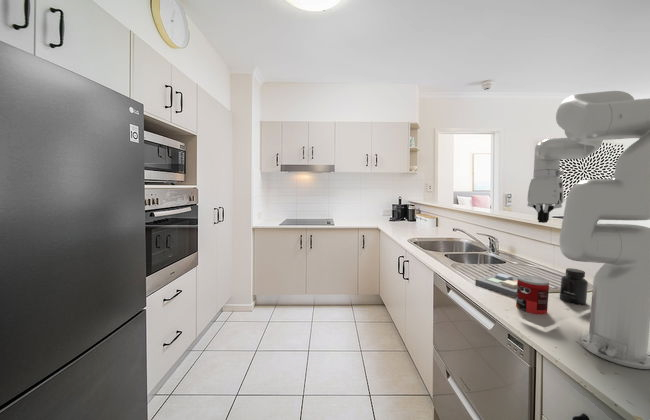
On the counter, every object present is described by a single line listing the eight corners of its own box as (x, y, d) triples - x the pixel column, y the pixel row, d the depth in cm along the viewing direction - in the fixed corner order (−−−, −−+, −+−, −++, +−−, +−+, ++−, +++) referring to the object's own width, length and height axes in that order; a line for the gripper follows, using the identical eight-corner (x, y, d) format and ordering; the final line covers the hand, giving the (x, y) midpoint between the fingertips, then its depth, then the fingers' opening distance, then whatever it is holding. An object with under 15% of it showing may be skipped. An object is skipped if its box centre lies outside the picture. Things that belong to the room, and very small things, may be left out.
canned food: (514, 304, 91) (516, 273, 90) (543, 309, 87) (546, 277, 86) (517, 313, 84) (519, 280, 83) (549, 319, 80) (552, 285, 79)
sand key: (513, 290, 98) (513, 285, 98) (501, 286, 102) (501, 281, 101) (520, 288, 100) (520, 283, 99) (508, 284, 103) (508, 279, 103)
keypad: (514, 300, 94) (515, 292, 94) (475, 286, 108) (475, 279, 108) (540, 292, 102) (540, 284, 102) (500, 280, 115) (500, 273, 115)
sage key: (496, 287, 103) (497, 282, 103) (486, 284, 107) (486, 279, 107) (503, 285, 105) (503, 281, 105) (492, 282, 109) (492, 277, 109)
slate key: (506, 282, 106) (506, 277, 106) (495, 279, 110) (495, 274, 109) (512, 281, 108) (512, 276, 107) (501, 277, 111) (501, 273, 111)
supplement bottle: (562, 305, 90) (565, 271, 89) (556, 298, 96) (558, 266, 95) (589, 309, 87) (592, 274, 86) (581, 301, 93) (584, 268, 92)
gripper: (575, 174, 95) (572, 224, 97) (529, 176, 109) (526, 219, 110) (565, 173, 92) (561, 225, 94) (518, 175, 105) (516, 220, 107)
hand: (542, 222), depth 102 cm, fingers closed
